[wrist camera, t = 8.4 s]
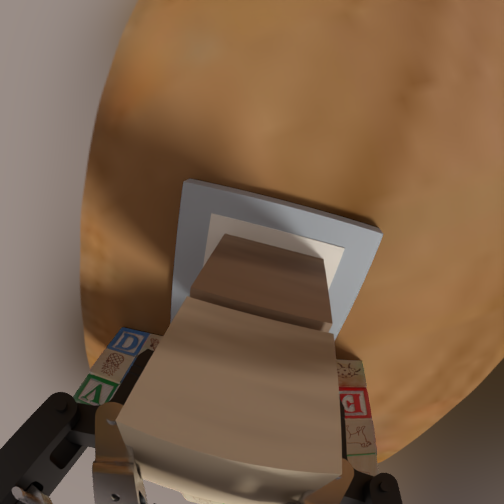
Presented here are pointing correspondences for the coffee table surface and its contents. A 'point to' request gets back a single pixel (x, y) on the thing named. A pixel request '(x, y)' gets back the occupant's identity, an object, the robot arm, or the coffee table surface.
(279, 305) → the walnut block
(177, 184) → the coffee table surface
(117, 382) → the stack of blocks
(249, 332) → the maple block
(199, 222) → the build board
